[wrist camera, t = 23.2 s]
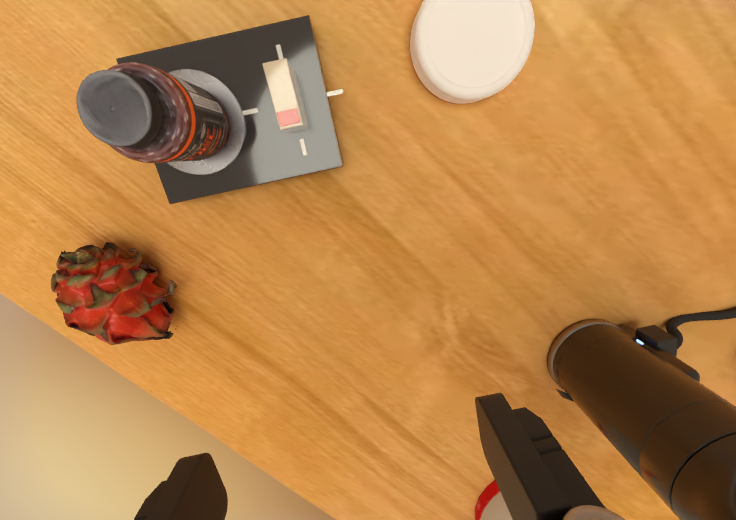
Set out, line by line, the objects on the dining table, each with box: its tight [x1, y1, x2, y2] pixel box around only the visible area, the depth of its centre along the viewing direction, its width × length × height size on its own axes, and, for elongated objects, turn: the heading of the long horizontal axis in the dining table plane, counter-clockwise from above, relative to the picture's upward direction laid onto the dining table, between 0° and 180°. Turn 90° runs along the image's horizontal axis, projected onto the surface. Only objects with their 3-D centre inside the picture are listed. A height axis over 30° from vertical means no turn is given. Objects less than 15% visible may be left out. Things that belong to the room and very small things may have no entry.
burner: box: [166, 69, 245, 175], centre depth 31 cm, size 8×8×1 cm
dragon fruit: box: [51, 242, 178, 345], centre depth 35 cm, size 8×8×12 cm
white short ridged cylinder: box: [410, 0, 535, 104], centre depth 31 cm, size 10×10×4 cm
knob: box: [262, 58, 309, 133], centre depth 29 cm, size 5×2×5 cm, turn 12°
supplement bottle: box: [77, 62, 228, 163], centre depth 26 cm, size 6×6×11 cm
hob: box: [116, 15, 343, 204], centre depth 33 cm, size 17×12×3 cm
